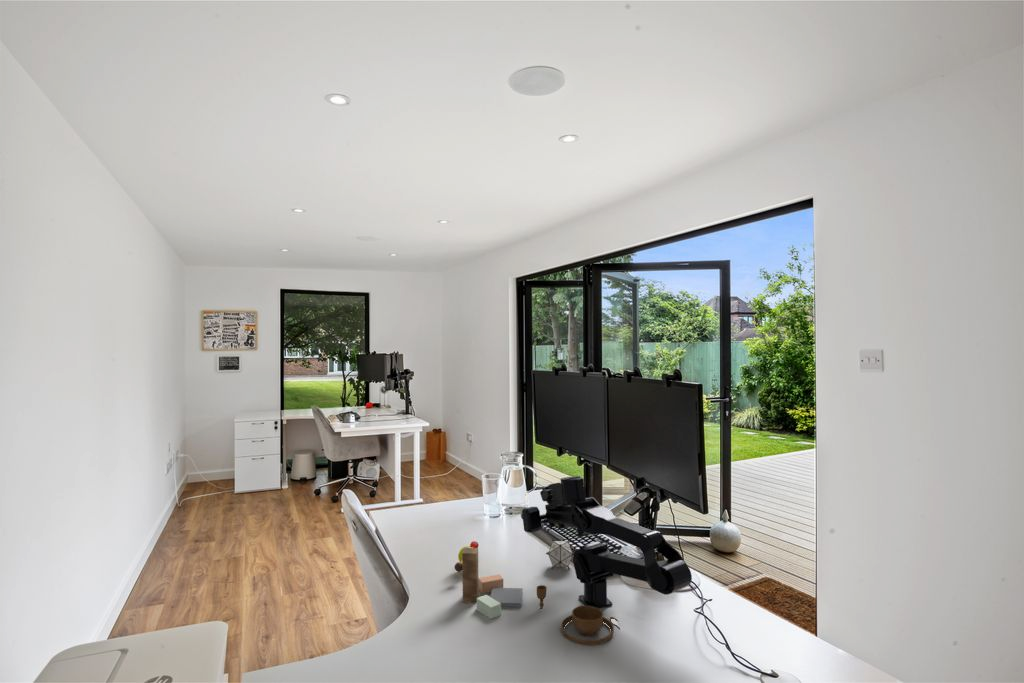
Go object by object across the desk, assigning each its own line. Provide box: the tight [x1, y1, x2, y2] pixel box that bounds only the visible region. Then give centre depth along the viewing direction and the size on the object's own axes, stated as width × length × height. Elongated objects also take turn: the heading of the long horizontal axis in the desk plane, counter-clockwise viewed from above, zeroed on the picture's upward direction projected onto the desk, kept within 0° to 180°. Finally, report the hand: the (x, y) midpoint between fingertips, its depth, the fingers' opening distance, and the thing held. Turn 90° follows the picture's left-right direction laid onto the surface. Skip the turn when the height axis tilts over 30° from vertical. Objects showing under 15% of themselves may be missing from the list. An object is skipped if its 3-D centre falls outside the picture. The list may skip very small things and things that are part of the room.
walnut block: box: [462, 547, 480, 603], centre depth 143 cm, size 4×4×12 cm
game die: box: [545, 538, 574, 571], centre depth 162 cm, size 9×8×10 cm
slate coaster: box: [490, 587, 524, 609], centre depth 142 cm, size 8×8×1 cm
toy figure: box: [454, 541, 479, 572], centre depth 160 cm, size 18×6×7 cm, turn 168°
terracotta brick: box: [478, 574, 504, 594], centre depth 148 cm, size 6×3×3 cm, turn 112°
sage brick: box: [476, 594, 502, 620], centre depth 136 cm, size 6×3×3 cm, turn 39°
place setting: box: [536, 584, 619, 646], centre depth 131 cm, size 18×20×6 cm
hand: (534, 512), depth 161 cm, fingers open, 9 cm apart
